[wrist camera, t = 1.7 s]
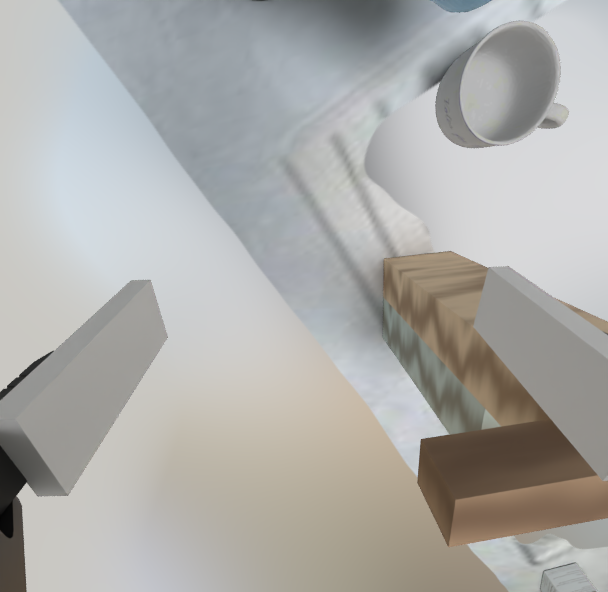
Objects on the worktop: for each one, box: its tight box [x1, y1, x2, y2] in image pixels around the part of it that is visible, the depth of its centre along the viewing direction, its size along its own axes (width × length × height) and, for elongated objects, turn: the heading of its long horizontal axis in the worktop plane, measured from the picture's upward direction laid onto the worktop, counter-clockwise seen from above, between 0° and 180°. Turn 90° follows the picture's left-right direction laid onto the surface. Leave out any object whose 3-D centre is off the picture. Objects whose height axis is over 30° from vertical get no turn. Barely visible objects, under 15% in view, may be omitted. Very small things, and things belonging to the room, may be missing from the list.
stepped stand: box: [383, 251, 608, 435], centre depth 34 cm, size 13×10×30 cm
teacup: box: [436, 21, 569, 148], centre depth 36 cm, size 14×11×8 cm
